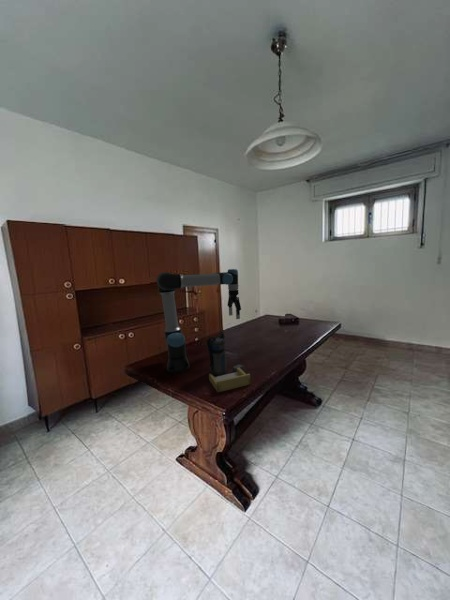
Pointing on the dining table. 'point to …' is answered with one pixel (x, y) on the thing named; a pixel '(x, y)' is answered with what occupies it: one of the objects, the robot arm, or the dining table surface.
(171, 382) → the dining table surface
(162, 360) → the dining table surface
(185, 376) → the dining table surface
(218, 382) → the dock bay
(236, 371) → the gray rectangular block
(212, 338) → the beverage bottle
